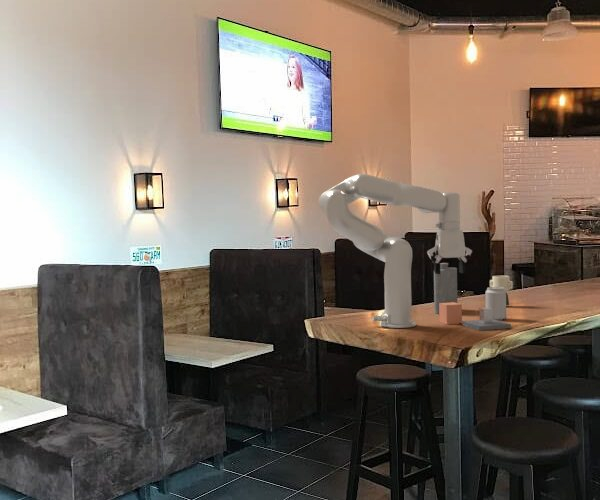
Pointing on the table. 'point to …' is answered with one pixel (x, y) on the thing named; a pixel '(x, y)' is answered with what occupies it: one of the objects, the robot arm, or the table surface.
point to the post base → (486, 326)
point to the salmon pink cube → (450, 313)
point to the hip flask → (445, 286)
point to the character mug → (502, 284)
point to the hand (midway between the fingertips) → (449, 273)
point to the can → (496, 302)
